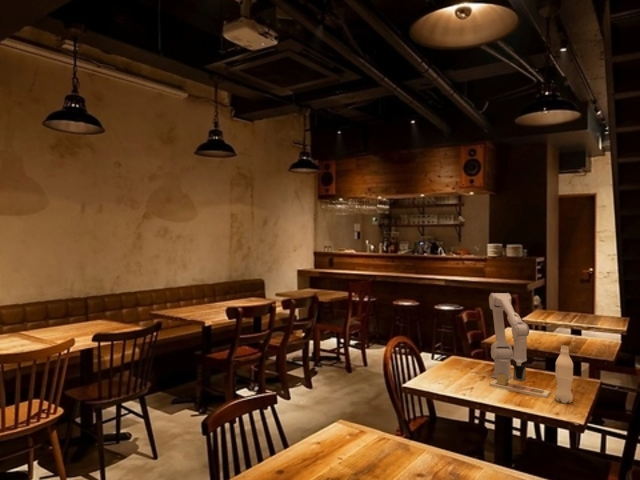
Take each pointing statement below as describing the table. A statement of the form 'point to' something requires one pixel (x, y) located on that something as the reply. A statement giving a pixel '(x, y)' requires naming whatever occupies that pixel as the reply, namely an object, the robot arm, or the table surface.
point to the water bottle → (564, 376)
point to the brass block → (502, 379)
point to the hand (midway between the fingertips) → (519, 377)
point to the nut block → (522, 376)
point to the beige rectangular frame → (522, 389)
